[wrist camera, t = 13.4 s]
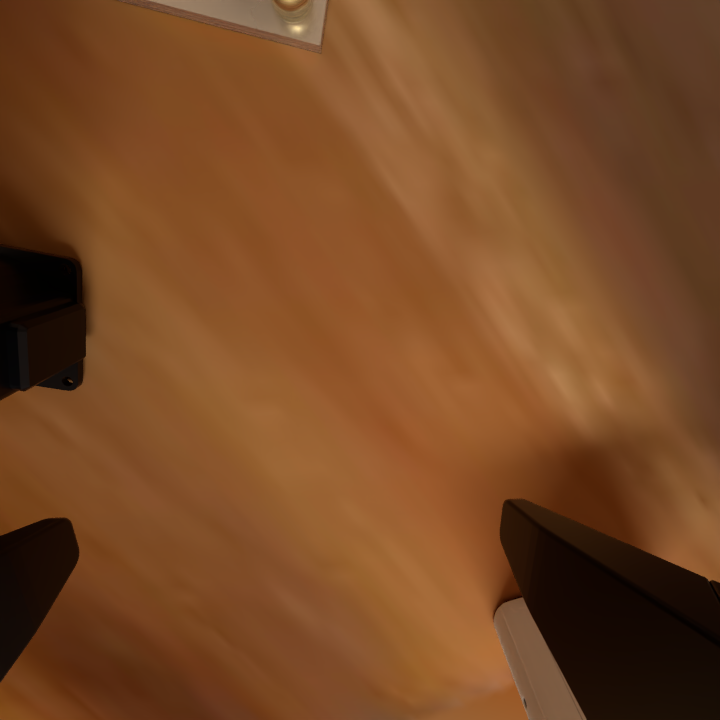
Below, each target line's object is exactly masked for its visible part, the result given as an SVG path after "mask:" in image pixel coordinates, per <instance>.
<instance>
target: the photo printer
mask: <svg viewBox="0 0 720 720" xmlns="http://www.w3.org/2000/svg"><path fill="white" fill-rule="evenodd" d="M494 626H495V629H496V632H497V635H498V638H499V640H500V643H501V646H502V648H503V651H504V654H505V657H506V659H507V662H508V665H509V667H510V670H511V673H512V676H513V678H514V681H515V684H516V686H517V689H518V692H519V694H520V697H521V699H522V702H523V705H524V707H525V710H526V713H527V716H528V718H529V720H587V719H586V717H585V716H584V714H583V712H582V710H581V708H580V706H579V704H578V702H577V701H576V699H575V697H574V695H573V693H572V691H571V689H570V687H569V685H568V684H567V682H566V680H565V678H564V676H563V674H562V672H561V670H560V669H559V667H558V665H557V663H556V661H555V659H554V657H553V655H552V654H551V652H550V650H549V648H548V646H547V644H546V642H545V640H544V638H543V637H542V635H541V633H540V631H539V629H538V627H537V625H536V623H535V622H534V620H533V618H532V616H531V614H530V612H529V610H528V608H527V606H526V604H525V601H524V599H523V597H522V598H518V599H514V600H511V601H508V602H505V603H503V604H502V605H501V606H500V607H499V608H498V609H497V611H496V613H495V616H494Z"/></svg>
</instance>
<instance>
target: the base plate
mask: <svg viewBox="0 0 720 720" xmlns="http://www.w3.org/2000/svg"><path fill="white" fill-rule="evenodd" d="M119 1H122V2H126V3H130V4H134V5H138V6H142V7H145V8H149V9H153V10H157V11H161V12H165V13H168V14H172V15H176V16H180V17H184V18H188V19H191V20H195V21H199V22H203V23H207V24H211V25H214V26H218V27H222V28H226V29H230V30H234V31H237V32H241V33H245V34H249V35H253V36H257V37H260V38H264V39H268V40H272V41H276V42H280V43H283V44H287V45H291V46H295V47H299V48H303V49H306V50H310V51H314V52H318V53H321V49H322V42H323V35H324V28H325V21H326V15H327V8H328V1H329V0H119Z"/></svg>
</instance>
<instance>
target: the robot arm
mask: <svg viewBox="0 0 720 720" xmlns="http://www.w3.org/2000/svg"><path fill="white" fill-rule="evenodd" d="M65 264H66V265H68V266H69V267H70V269H71V273H70V274H69V273H67V272H66V271H65V268H64V267H65ZM85 356H86V318H85V308H84V306H83V305H82V269H81V266H80V264H79V262H77V261H76V260H75V259H73V258H70V257H64V256H59V255H54V254H49V253H43V252H38V251H33V250H28V249H22V248H17V247H12V246H6V245H1V244H0V400H2V399H4V398H6V397H8V396H10V395H11V394H13V393H15V392H17V391H27V390H28V389H30V388H32V387H34V386H41V387H48V388H54V389H60V390H67V391H72V390H74V389H76V388H77V387H79V386H80V385H81V384H82V381H83V358H84V357H85ZM67 377H70V378H71V379H72V381H73V383H71V382H69V381H68V380H67ZM500 540H501V544H502V546H503V549H504V551H505V554H506V556H507V559H508V561H509V564H510V566H511V569H512V572H513V574H514V577H515V579H516V582H517V584H518V587H519V589H520V592H521V594H522V597H523V599H524V601H525V604H526V606H527V608H528V610H529V612H530V614H531V616H532V618H533V620H534V622H535V623H536V625H537V627H538V629H539V631H540V633H541V635H542V637H543V638H544V640H545V642H546V644H547V646H548V648H549V650H550V652H551V654H552V655H553V657H554V659H555V661H556V663H557V665H558V667H559V669H560V670H561V672H562V674H563V676H564V678H565V680H566V682H567V684H568V685H569V687H570V689H571V691H572V693H573V695H574V697H575V699H576V701H577V702H578V704H579V706H580V708H581V710H582V712H583V714H584V716H585V717H586V719H587V720H720V583H719V582H716V581H714V580H711V581H708V579H707V578H705V577H703V576H700V575H698V574H696V573H694V572H691V571H689V570H687V569H684V568H682V567H680V566H677V565H675V564H673V563H670V562H668V561H666V560H664V559H661V558H659V557H657V556H654V555H652V554H650V553H647V552H645V551H643V550H640V549H638V548H636V547H634V546H631V545H629V544H627V543H624V542H622V541H620V540H617V539H615V538H613V537H610V536H608V535H606V534H604V533H601V532H599V531H597V530H594V529H592V528H590V527H587V526H585V525H583V524H580V523H578V522H576V521H574V520H571V519H569V518H567V517H564V516H562V515H560V514H557V513H555V512H553V511H550V510H548V509H546V508H544V507H541V506H539V505H537V504H534V503H532V502H530V501H527V500H525V499H507V500H505V501H504V504H503V508H502V516H501V524H500ZM78 559H79V546H78V543H77V540H76V536H75V533H74V529H73V526H72V523H71V521H70V520H69V519H67V518H48V519H44V520H41V521H38V522H36V523H33V524H30V525H28V526H25V527H22V528H20V529H17V530H15V531H12V532H9V533H7V534H4V535H1V536H0V682H1V681H2V680H3V678H4V677H5V675H6V674H7V673H8V671H9V670H10V668H11V667H12V666H13V664H14V663H15V661H16V660H17V659H18V657H19V656H20V654H21V653H22V652H23V650H24V649H25V647H26V646H27V645H28V643H29V642H30V640H31V639H32V637H33V636H34V634H35V633H36V631H37V630H38V628H39V627H40V625H41V623H42V622H43V620H44V618H45V617H46V615H47V613H48V612H49V610H50V608H51V607H52V605H53V603H54V602H55V600H56V598H57V596H58V595H59V593H60V591H61V590H62V588H63V586H64V585H65V583H66V581H67V580H68V578H69V576H70V574H71V573H72V571H73V569H74V568H75V566H76V564H77V561H78Z"/></svg>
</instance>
